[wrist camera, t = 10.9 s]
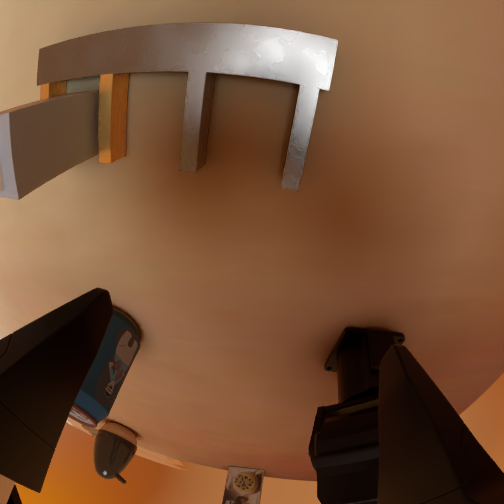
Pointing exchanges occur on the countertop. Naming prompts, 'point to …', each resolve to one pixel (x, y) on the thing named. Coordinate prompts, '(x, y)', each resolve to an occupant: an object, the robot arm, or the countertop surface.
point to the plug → (46, 140)
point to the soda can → (107, 371)
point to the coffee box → (243, 486)
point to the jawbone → (91, 430)
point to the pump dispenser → (113, 450)
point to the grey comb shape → (193, 77)
